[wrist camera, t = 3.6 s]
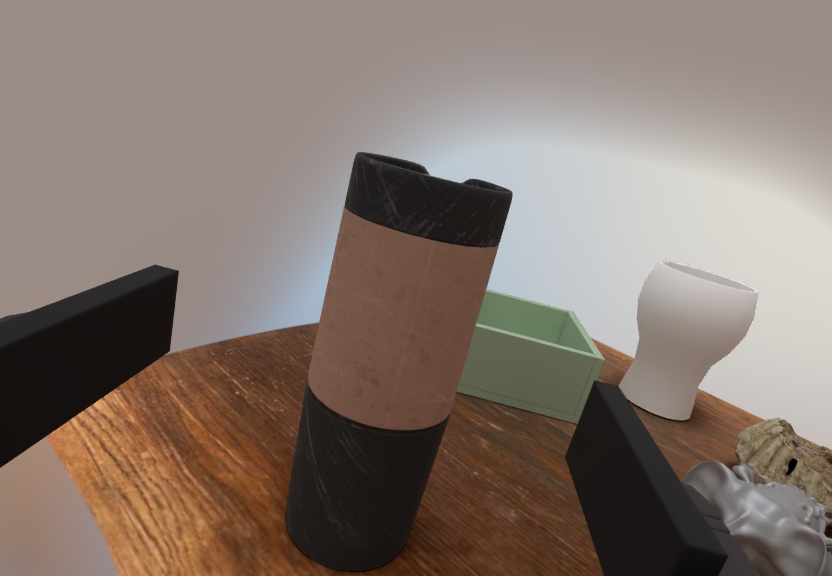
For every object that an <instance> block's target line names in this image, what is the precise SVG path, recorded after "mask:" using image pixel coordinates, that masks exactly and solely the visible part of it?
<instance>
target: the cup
mask: <svg viewBox="0 0 832 576" xmlns="http://www.w3.org/2000/svg"><path fill="white" fill-rule="evenodd" d="M757 297H758V291H757V290H756V289H754V288H752V287H750V286H748V285H746V284H743V283H741V282H738V281H736V280H733V279H730V278H728V277H725V276H722V275H719V274H715V273H713V272H709V271H706V270H703V269H699V268H696V267H692V266H689V265H684V264H681V263H676V262H671V261H664V260H661V261H659V262H658V263H657V265H656V266H655V268H654V269H653V271H652V272H651V274H650V275H649V276H648V278H647V279H646V281H645V283H644V285H643V288H642V291H641V293H640V296H639V298H638V311H637V321H638V330H639V337H640V339H639V343H638V347H637V351H636V355H635V359H634V361H633V363H632V365H631V366H630V368H629V369H628V371H627V372H626V374H625V375H624V377H623V379H622V381H621V382H620V384H619V386H618V387H619V388H620V389H621V391H622V392H623V394H624V395H625V397H626V398H627V399H628V400H630V401H631V402H632V403H634V404H636V405H637V406H639V407H641V408H643V409H645V410H647V411H649V412H651V413H654V414H656V415H659V416H662V417H665V418H669V419H674V420H687V419H689V418H690V416H691V413H692V409H693V406H694V402H695V398H696V393H697V389H698V386H699V384H700V383H701V381H702V379H703V378H704V376H705V375H706V373H707V372H708V370H709V369H710V367H711V366H712V365H714V364H715V363H716V362H718V361H719V360H721V359H722V358H724V357H725V356H726V355H728V354H729V353H730V352H731V351H732V350H733V349H734V348H735V347H736V346H737V345H738V344H739V343H740V341H741V340H742V339H743V338H744V337H745V336H746V334H747V331H748V329H749V327H750V325H751V323H752V321H753V319H754V314H755V308H756V302H757Z"/></svg>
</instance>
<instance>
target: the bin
mask: <svg viewBox="0 0 832 576" xmlns="http://www.w3.org/2000/svg"><path fill="white" fill-rule="evenodd" d="M604 361H605V359H604V358H603V356H602V355H601V353H600V351H599V350H598V348H597V347H596V345H595V344H594V342H593V341H592V339H591V338H590V336H589V335H588V333H587V332H586V330H585V329H584V327H583V326H582V324H581V323H580V321H579V320H578V318H577V317H576V315H575V314H574V312H572V311H567V310H564V309H560V308H556V307H552V306H549V305H545V304H541V303H537V302H534V301H530V300H526V299H521V298H518V297H514V296H511V295H506V294H503V293H499V292H495V291H491V290H488V289H486V292H485V295H484V298H483V302H482V305H481V309H480V312H479V316H478V319H477V323H476V326H475V330H474V333H473V337H472V340H471V344H470V347H469V351H468V354H467V358H466V361H465V365H464V368H463V372H462V375H461V379H460V382H459V385H458V389H457V392H459V393H463V394H467V395H471V396H474V397H478V398H482V399H485V400H489V401H493V402H497V403H500V404H504V405H508V406H512V407H515V408H519V409H523V410H527V411H530V412H534V413H538V414H541V415H545V416H549V417H553V418H556V419H560V420H564V421H568V422H571V423H575V424H578V422H579V419H580V416H581V414H582V411H583V408H584V406H585V403H586V400H587V398H588V395H589V393H590V390H591V387H592V385H593V382H594V380H595V381H597V379H598V377H599V374H600V371H601V369H602V366H603V364H604Z"/></svg>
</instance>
